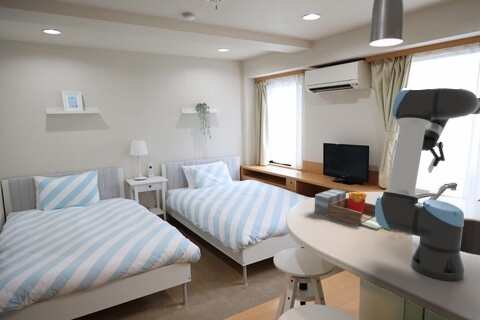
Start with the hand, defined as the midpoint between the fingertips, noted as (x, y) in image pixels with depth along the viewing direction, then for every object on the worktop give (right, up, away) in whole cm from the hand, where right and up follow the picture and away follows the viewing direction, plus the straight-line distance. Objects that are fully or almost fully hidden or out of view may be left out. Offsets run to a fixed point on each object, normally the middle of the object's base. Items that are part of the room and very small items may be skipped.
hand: (413, 168), depth 140 cm
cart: (-22, -25, +16) cm, 37 cm away
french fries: (-21, -24, +15) cm, 35 cm away
